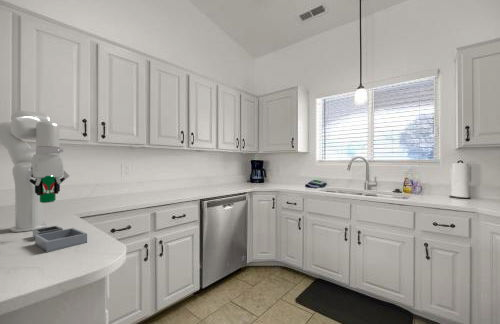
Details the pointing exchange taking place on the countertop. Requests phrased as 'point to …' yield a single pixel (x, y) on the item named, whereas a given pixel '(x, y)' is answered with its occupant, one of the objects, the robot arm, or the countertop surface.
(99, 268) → the countertop surface
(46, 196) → the soda can
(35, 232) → the pin socket
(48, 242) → the tray
